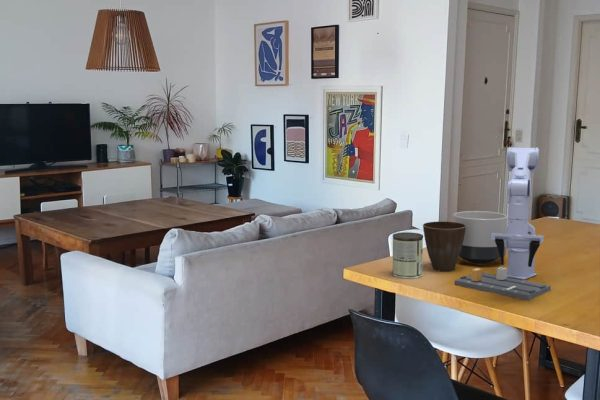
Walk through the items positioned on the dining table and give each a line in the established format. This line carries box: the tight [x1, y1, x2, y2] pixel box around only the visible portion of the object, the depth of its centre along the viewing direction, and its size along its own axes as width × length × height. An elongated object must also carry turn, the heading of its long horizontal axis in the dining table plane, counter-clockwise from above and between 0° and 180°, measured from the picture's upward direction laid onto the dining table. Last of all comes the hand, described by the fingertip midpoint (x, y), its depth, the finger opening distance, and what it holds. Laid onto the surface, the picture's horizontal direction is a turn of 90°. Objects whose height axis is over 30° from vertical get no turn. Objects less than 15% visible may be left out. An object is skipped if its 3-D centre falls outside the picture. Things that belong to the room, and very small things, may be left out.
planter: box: [452, 210, 508, 265], centre depth 236 cm, size 19×19×18 cm
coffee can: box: [392, 231, 424, 280], centre depth 217 cm, size 10×10×14 cm
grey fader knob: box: [496, 266, 508, 280], centre depth 204 cm, size 3×2×4 cm, turn 134°
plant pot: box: [422, 221, 466, 272], centre depth 225 cm, size 15×15×16 cm
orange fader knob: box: [470, 267, 483, 281], centre depth 203 cm, size 3×2×4 cm, turn 134°
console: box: [454, 272, 552, 301], centre depth 201 cm, size 15×25×2 cm, turn 44°
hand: (515, 265), depth 186 cm, fingers open, 7 cm apart
